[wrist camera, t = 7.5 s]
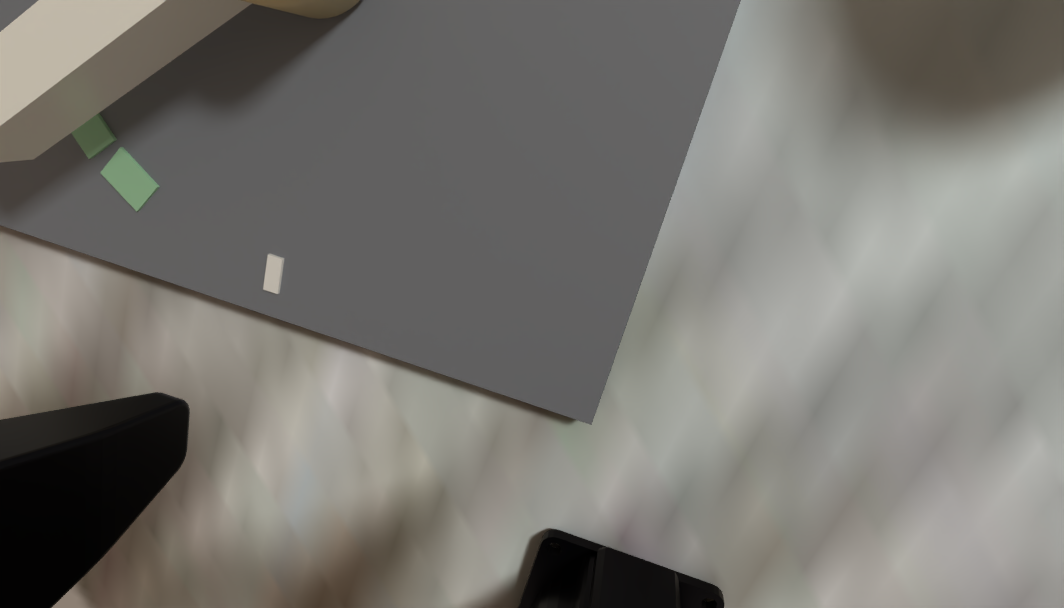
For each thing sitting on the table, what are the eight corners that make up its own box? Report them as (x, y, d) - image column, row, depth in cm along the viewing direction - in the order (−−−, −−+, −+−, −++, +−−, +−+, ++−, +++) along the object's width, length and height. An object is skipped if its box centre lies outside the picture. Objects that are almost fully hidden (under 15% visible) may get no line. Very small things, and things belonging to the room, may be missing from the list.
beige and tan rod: (332, -167, 16) (232, -251, 12) (403, -27, 16) (331, -66, 13) (18, 78, 19) (-134, 72, 16) (87, 185, 20) (-43, 204, 16)
